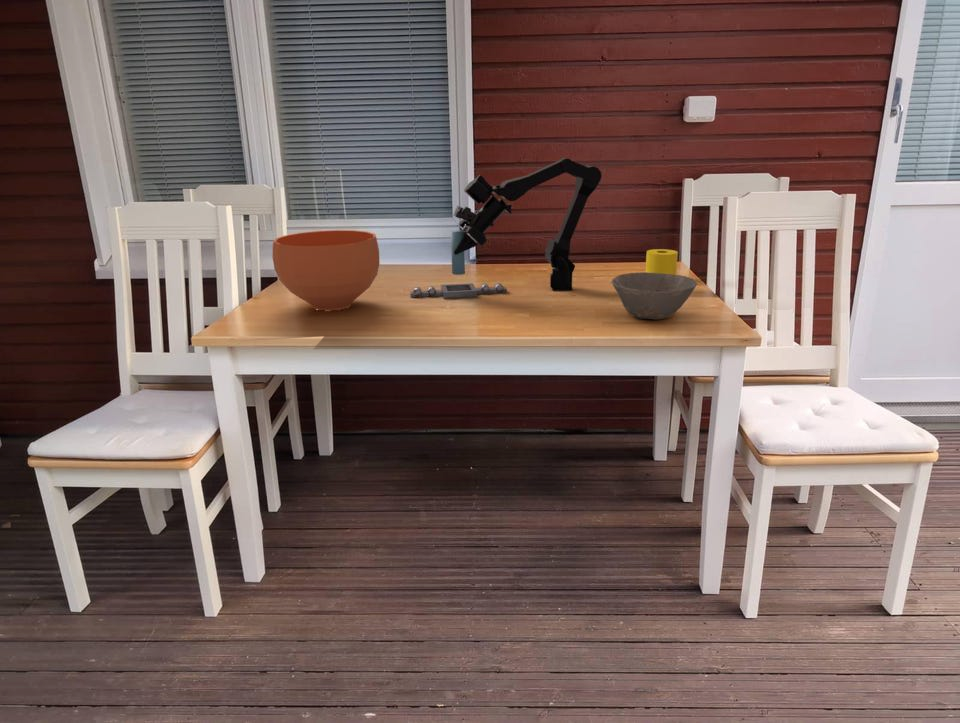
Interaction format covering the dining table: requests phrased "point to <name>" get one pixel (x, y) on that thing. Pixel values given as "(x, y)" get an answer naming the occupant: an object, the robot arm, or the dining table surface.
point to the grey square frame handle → (458, 291)
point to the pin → (458, 259)
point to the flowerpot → (327, 265)
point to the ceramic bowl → (653, 293)
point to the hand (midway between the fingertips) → (453, 252)
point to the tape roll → (661, 261)
